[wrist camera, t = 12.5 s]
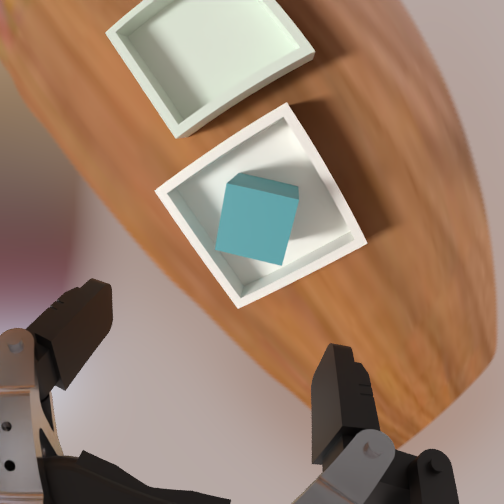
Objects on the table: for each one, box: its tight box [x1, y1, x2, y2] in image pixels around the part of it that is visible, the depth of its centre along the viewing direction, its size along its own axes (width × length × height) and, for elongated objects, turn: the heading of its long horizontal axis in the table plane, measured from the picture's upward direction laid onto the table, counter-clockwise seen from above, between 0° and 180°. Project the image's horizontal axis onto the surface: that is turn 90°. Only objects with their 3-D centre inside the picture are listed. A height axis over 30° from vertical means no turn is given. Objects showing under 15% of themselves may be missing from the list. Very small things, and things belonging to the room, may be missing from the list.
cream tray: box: [155, 103, 367, 309], centre depth 26 cm, size 13×13×3 cm
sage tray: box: [105, 0, 315, 139], centre depth 20 cm, size 13×13×3 cm
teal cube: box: [215, 173, 299, 266], centre depth 24 cm, size 5×5×5 cm
